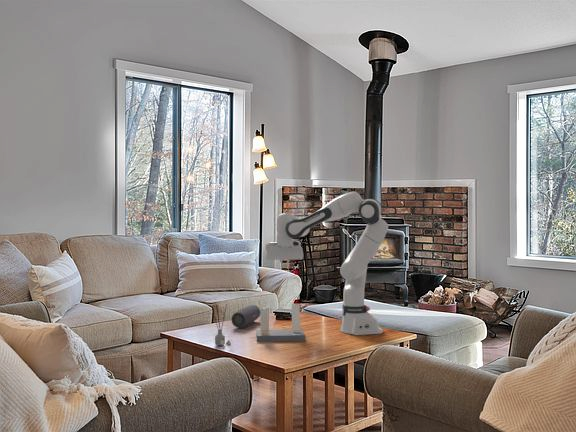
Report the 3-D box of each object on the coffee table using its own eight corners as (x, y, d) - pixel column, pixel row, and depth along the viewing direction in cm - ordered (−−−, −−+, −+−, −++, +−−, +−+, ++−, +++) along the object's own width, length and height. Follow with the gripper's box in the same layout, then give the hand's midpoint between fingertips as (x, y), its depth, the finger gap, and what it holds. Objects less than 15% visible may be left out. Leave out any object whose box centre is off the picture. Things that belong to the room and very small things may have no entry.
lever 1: (268, 330, 307) (269, 307, 302) (268, 332, 306) (269, 308, 300) (260, 330, 307) (261, 307, 301) (260, 332, 305) (261, 309, 300)
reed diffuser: (214, 348, 288) (214, 306, 287) (207, 345, 294) (207, 304, 293) (232, 344, 294) (232, 303, 294) (225, 342, 300) (225, 301, 299)
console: (302, 335, 314) (302, 329, 314) (305, 341, 302) (305, 335, 302) (256, 336, 312) (256, 330, 312) (257, 341, 300) (257, 335, 300)
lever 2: (299, 331, 309) (299, 304, 313) (300, 330, 307) (299, 303, 312) (292, 331, 309) (291, 304, 313) (292, 330, 307) (291, 303, 311)
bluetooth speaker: (246, 330, 325) (246, 312, 324) (230, 329, 328) (230, 310, 327) (261, 322, 346) (261, 304, 346) (246, 320, 349) (246, 303, 349)
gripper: (265, 243, 328) (266, 268, 328) (303, 242, 329) (303, 268, 330) (265, 242, 334) (265, 267, 334) (302, 241, 335) (302, 266, 336)
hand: (284, 267), depth 332 cm, fingers closed
